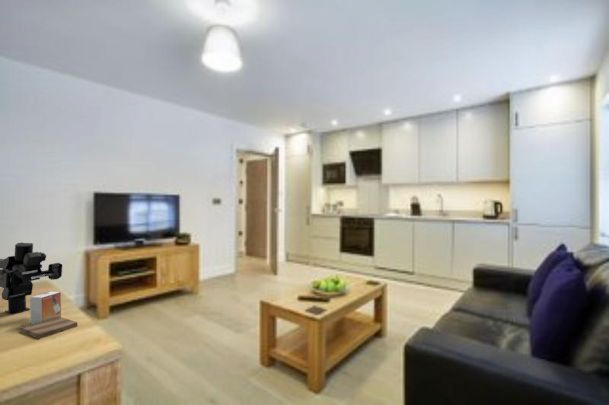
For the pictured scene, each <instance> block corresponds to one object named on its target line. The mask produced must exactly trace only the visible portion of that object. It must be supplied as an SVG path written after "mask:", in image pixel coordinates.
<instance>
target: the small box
mask: <svg viewBox="0 0 609 405" xmlns="http://www.w3.org/2000/svg"><path fill="white" fill-rule="evenodd" d="M61 296H62V294H61V292H60V291H48V292H43V293H41V294H37V295H33V296H30V297H29V299H30V300H29V303H30V307H29V308H30V310H29V311H30V325H31V324H34V323H38V322H41V321H45V320H48V319H51V318H55V317H58V316H59V317H62V301H61V300H62V299H61V298H62V297H61Z"/></svg>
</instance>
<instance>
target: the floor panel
mask: <svg viewBox="0 0 609 405" xmlns="http://www.w3.org/2000/svg"><path fill="white" fill-rule="evenodd" d="M76 327H78V321H75V320H71V319H68V318H65V317H62V316H61V317H59V316H58V317H55V318H51V319H48V320H45V321H41V322H38V323H34V324H31V323H30V324H28V325H25V326H20V332H21V333H24V334H26V335H29V336H31V337H34V338H36V339H39V340H40V339H42V338H46V337H49V336H51V335H56V334H58V333H61V332H64V331H67V330H70V329H74V328H76Z"/></svg>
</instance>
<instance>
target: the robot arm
mask: <svg viewBox="0 0 609 405" xmlns="http://www.w3.org/2000/svg"><path fill="white" fill-rule="evenodd" d="M33 250H34V243H32V242H17V243H15V245H14V255H10V256H7V257H5V258H0V288H2V289H3V290H2V292H1V299H2V300H5V301H7V304H8V306H7V308H8V309H7V310H5V311H4V313H6V314H9V315H14V314H19V313H23V312H25V311H30V307H27V297H28V296H31V295H32V293H33V288H34V283H33V282H32V281H36V280H41V278H44V277H48V279H49V280H50V281H53V280H59V279H60V278H61V277H62V274H63V264H62V263H61V262H55V263H50V264H49V265H48V268H47V270H42V268H43V264H42V262H45V261H46V259H47V254H45V253H44V252H41V251H40V252H39V251H33Z"/></svg>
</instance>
